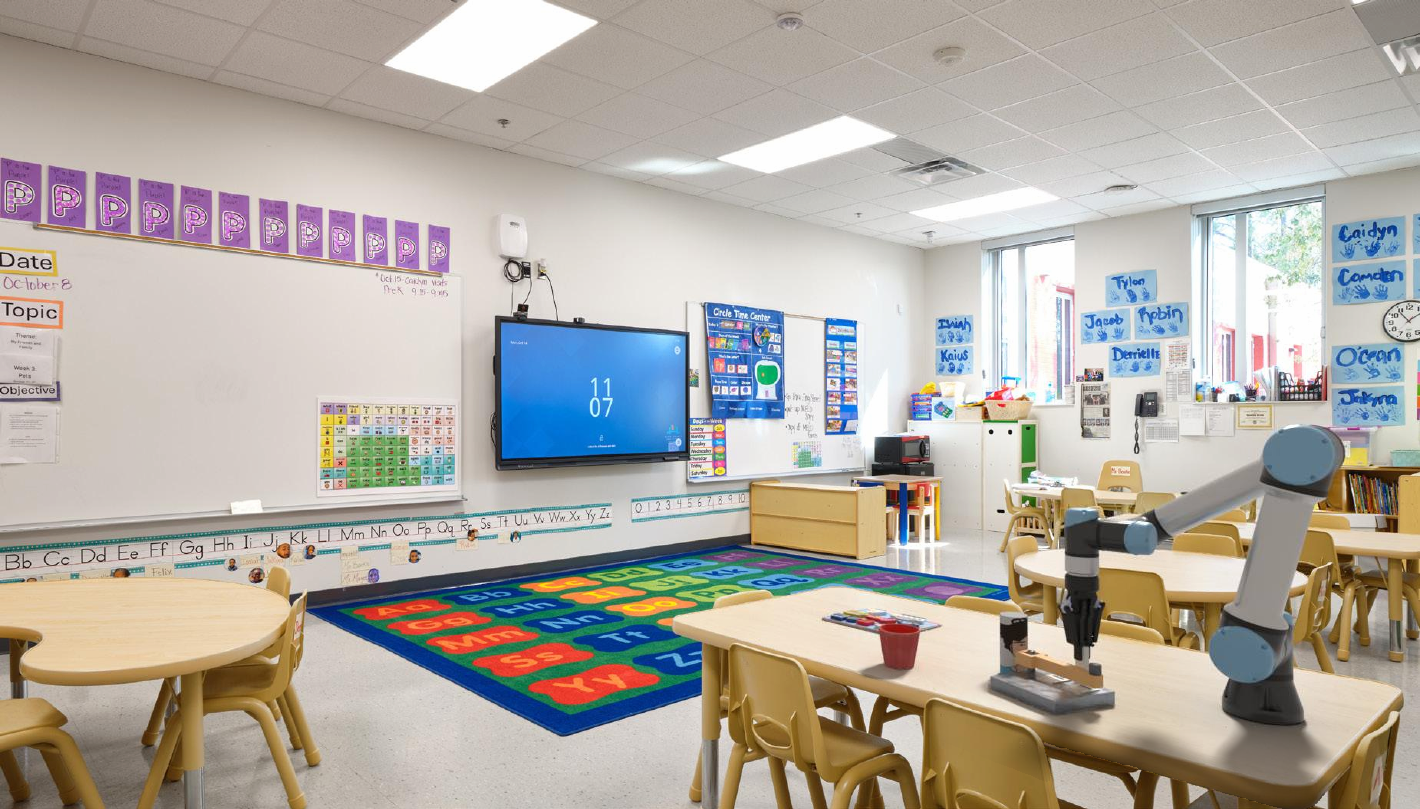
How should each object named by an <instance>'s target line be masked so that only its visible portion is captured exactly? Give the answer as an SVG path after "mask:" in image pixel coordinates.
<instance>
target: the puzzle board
mask: <svg viewBox="0 0 1420 809" xmlns="http://www.w3.org/2000/svg"><path fill="white" fill-rule="evenodd" d="M821 620H822V621H825V622H829V623H832V624H833V623H834V624H837V625H841V626H846V627H849V628H850V627H851V628H854V629H858V630H862V631H867V632H871V633H874V634H875V633H876V634H879V626H881V625H884V624H906V625H912V626H915V627H917V628H919V629H920V633H922V632H927V631H930V630H934V629H937V628H941V626H942V627H943V624H941V623H938V622H931V621H927V618H925V617H919V616H915V615H910V614H905V613H900V614H895V613H893V614H891V613H887V610H884V609H879V608H870V609H868V608H865V609H860V610H855V609H853V610H852V609H850V610H849V609H848V610H845V611H843V612H842V613H840V612H835V613H832V614H830V615H828V616H824V617H821ZM926 630H927V631H926Z"/></svg>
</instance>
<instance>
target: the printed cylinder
mask: <svg viewBox="0 0 1420 809" xmlns="http://www.w3.org/2000/svg"><path fill="white" fill-rule="evenodd" d="M1028 619H1029V617H1028V614H1026V613H1023V612H1018V611H1002V612H1000V613H999V675H1001V674H1008V673H1014V672H1021V671H1028V667H1026V666H1023V665H1020V664H1017V663H1016V661H1015V651H1022V650H1029V642H1028V641H1029V631H1028V630H1029V628H1028V626H1029V625H1028V624H1029V622H1028V621H1029V620H1028Z"/></svg>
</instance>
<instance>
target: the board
mask: <svg viewBox="0 0 1420 809" xmlns="http://www.w3.org/2000/svg"><path fill="white" fill-rule="evenodd" d="M1034 650H1035V649H1032V650H1030V649H1028V651H1027V653H1028V654H1029V655H1035V651H1036V650H1035V651H1034ZM989 678H990V679H989V680H990V681H989V682H990V683H989V684H990V687H989V688H990V690H992V691H995V692H998V693H1000V694H1002V695H1004V696H1007V697H1009V698H1011V699H1015V700H1016V701H1020V702H1021V703H1024V704H1026V705H1029V706H1030V707H1034V708H1037V709H1039V710H1041V711H1043V712H1046V713H1049V714H1052V715H1053V716H1060V715H1066V714H1070V713H1076V712H1082V711H1087V710H1091V709H1098V708H1104V707H1108V706H1114V705H1116V702H1115V701H1116V698H1115V697H1116V694H1115V693H1116V691H1115V690H1112V689H1109V688H1108V687H1107V688H1106V687H1104V686H1103V688H1097V689H1094V688H1091V687H1088V686H1085V685H1082V684H1079V683H1077V682H1074V681H1071V680H1068V679H1065V678H1062V677H1060V676H1057V675H1054V674H1051V673H1048V672H1046V671H1043V670H1040V669H1037V668H1032V669H1031V668H1028V671H1021V672H1014V673H1008V674H996V675H990V676H989Z"/></svg>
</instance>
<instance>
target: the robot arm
mask: <svg viewBox="0 0 1420 809" xmlns="http://www.w3.org/2000/svg"><path fill="white" fill-rule="evenodd" d="M1345 447H1346V446H1345V444H1344V443H1343V440H1342V439H1341V437H1339V435H1338V434H1336V433H1335V432H1334V431H1332V430H1331V429H1329V428H1327V427H1324V426H1321V425H1317V424H1302V423H1297V424H1289V425H1286V426H1284V427H1282V428H1279V429H1277V431H1275V432H1274V433H1273V434H1272V435H1270V437H1269V438H1268V439H1266V442H1265V443H1264V446H1263V449H1262V452H1261V456H1260V457H1258V458H1256V459H1255V460H1253V461H1250V462H1248V463H1246V464H1243V465H1242V466H1240V467H1238V468H1235V469H1234V470H1232V471H1230V472H1228V473H1225V474H1224V475H1221V476H1219V477H1217V478H1215V479H1213V480H1212V481H1209V482H1207V483H1205V484H1203V485H1201V486H1199V487H1196V488H1194V489H1192V490H1190V491H1189V492H1186V493H1184V494H1182V495H1180V496H1178V497H1176V498H1174V499H1172V500H1170V501H1168V502H1166V503H1164V504H1161V505H1160V506H1157V507H1156V508H1152V509H1151V510H1149V511H1147V512H1144V513H1142V514H1140V515H1138V516H1135V517H1132V518H1127V519H1114V518H1113V519H1112V518H1104V517H1101V516H1100V512H1099V510H1098V509H1096V508H1089V507H1070V508H1067V509H1066V510H1065V512H1064V526H1063V530H1064V531H1063V532H1064V533H1063V534H1064V571H1065V574H1064V588H1065V589H1066V591H1067V592H1066V593H1067V594H1066V595H1065V596H1066V597H1065V601H1064V603H1059V604H1058V606H1057V608H1058V610H1059V613H1061V619H1062V624H1063V630H1064V635H1065V640H1066V643H1067V644H1070V645H1071V646H1073V659H1074V662H1075V663H1074V665H1075V666H1078V667H1081V668H1084V669H1087V670H1089V663H1090V659H1091V648H1094V647H1095V645H1096V643H1098V639H1099V635H1100V627H1101V624H1102V615H1103V611H1104V609H1105V607H1106V602H1105V601H1101V600H1100V599H1098V598H1099V597H1098V594H1097V592H1099V591H1100V576H1099V575H1098V574H1099V573H1100V551H1102V552H1112V553H1119V554H1127V555H1128V554H1129V555H1133V556H1138V555H1139V556H1140V555H1141V556H1151V555H1152V554H1154V552H1155V550H1156V548H1157V547H1158V546H1159V545H1161V544H1162V543H1163V542H1165V541H1168V540H1170V539H1172V538H1173V537H1176V536H1178V535H1181V534H1182V533H1184V532H1188V531H1189V530H1191V529H1193V528H1196V527H1197V526H1200V525H1202V524H1204V523H1207V522H1209V521H1211V520H1213V519H1216V518H1218V517H1220V516H1223V515H1224V514H1227V513H1229V512H1232V511H1234V510H1235V509H1238V508H1240V507H1242V506H1245V505H1247V504H1248V503H1249V504H1250V503H1251V502H1254V501H1256V500H1259V499H1260V498H1262V497H1263V498H1262V503H1261V504H1260V505H1261V506H1260V510H1259V512H1258V513H1259V514H1258V517H1257V519H1256V524H1255V528H1254V530H1253V534H1252V537H1251V541H1250V545H1249V548H1248V553H1247V556H1246V559H1245V561H1244V562H1245V563H1244V565H1243V570H1242V573H1241V576H1240V579H1239V584H1238V587H1237V590H1236V594H1235V597H1234V600H1233V601H1231V602H1229V603H1227V604H1224V607H1223V609H1222V612H1221V615H1220V619H1219V622H1218V626H1217V630H1215V631H1214V632H1213V633H1212V635H1211V636H1210V639H1209V641H1208V642H1209V643H1208V645H1207V646H1208V647H1207V650H1208V654H1209V658H1210V660H1211V662H1212V663H1213V666H1214V667H1215V668H1216V669H1217V670H1218V671H1219V672H1220V673H1221V674H1222V675H1224V677H1227V678H1228V679H1227V683H1226V685H1225V687H1224V690H1223V693H1222V695H1221V709H1222V710H1224V711H1225V712H1226V713H1228V714H1231V715H1233V716H1236V717H1238V718H1241V719H1245V720H1247V721H1253V722H1257V723H1262V724H1263V723H1264V724H1269V725H1270V724H1271V725H1279V726H1281V725H1282V726H1284V725H1287V726H1290V725H1291V726H1292V725H1298V724H1297V723H1299V724H1301V723H1303V722H1305V710H1304V709H1305V708H1304V706H1303V704H1302V700H1301V699H1300V696H1299V693H1298V691H1297V690H1298V689H1297V688H1296V685H1295V680H1294V679H1295V678H1294V629H1295V626H1294V622H1293V616H1292V614H1290V612H1287V611H1285V609H1286V606H1287V602H1288V598H1289V594H1290V591H1291V589H1292V588H1291V587H1292V584H1293V581H1294V578H1295V574H1296V571H1297V568H1298V564H1299V561H1300V557H1301V554H1302V550H1303V548H1304V543H1305V540H1306V536H1307V533H1308V529H1309V527H1310V523H1311V519H1312V517H1313V514H1314V509H1315V507H1316V505H1317V504H1318V503H1321V502H1322V501H1324V500H1327V498H1328V496H1329V495H1328V494H1329V492H1330V489H1331V485H1332V482H1333V478H1334V476H1335V474H1336V473H1337V472H1338V471H1339V470H1340V469H1341V468H1342V466H1343V464H1344V462H1345V459H1346V448H1345ZM1300 722H1301V723H1300Z"/></svg>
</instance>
